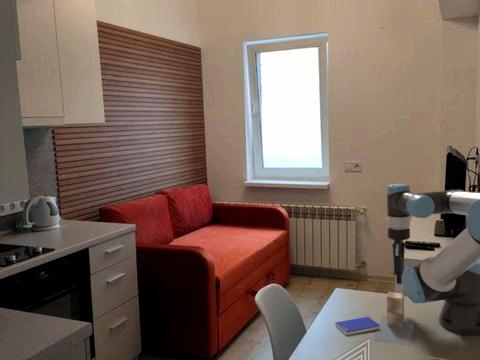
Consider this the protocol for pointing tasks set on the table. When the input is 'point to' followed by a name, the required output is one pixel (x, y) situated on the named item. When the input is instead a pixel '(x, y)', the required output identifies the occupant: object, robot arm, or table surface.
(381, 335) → the slate mat
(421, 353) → the table surface
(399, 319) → the birch block
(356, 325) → the hard drive
